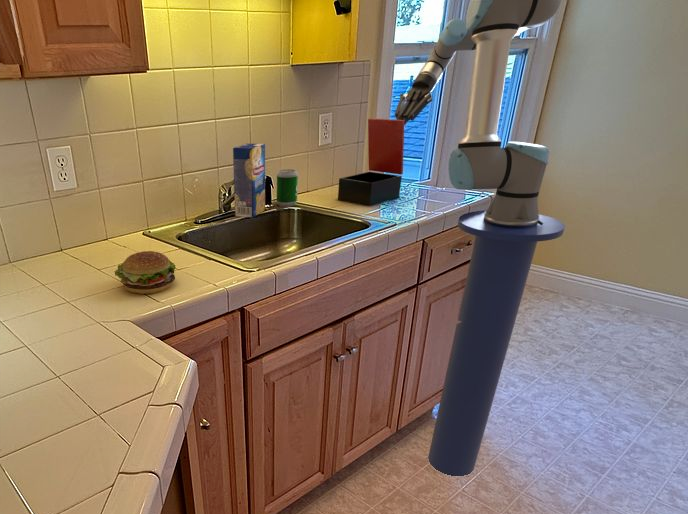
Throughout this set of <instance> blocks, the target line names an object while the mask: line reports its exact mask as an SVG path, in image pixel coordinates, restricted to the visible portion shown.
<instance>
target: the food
mask: <svg viewBox="0 0 688 514" xmlns="http://www.w3.org/2000/svg"><path fill="white" fill-rule="evenodd" d="M175 270H177V268H176V265H175V262H172V261H171V260H170V259H169V258H168V256H167V255H165V254H163V253H161V252H159V251H154V250H145V251H144V250H143V251H139V252H135V253H132V254H130V255H129V256H127V257H126V258H125V259H124V261H123V262H122V263H120V264H118V265H117V269H116V270H114V276H116V277H118V278H119V279H120V282H121V283H122V285H123V287H124V289H125V290H126V291H128V292H130V293H132V294H141V295H148V294H155V293H160V292H163V291H165V290H167V289H170V288H171V287H172V286H173V283H174V281H175V280H176V276H175Z"/></svg>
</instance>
